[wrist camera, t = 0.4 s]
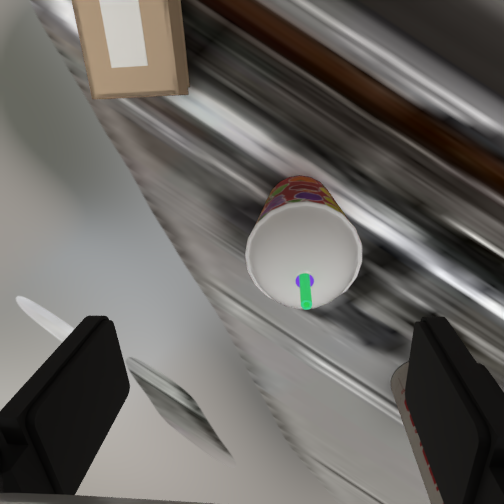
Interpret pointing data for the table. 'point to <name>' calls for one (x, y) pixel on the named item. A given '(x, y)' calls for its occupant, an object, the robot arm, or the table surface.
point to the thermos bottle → (414, 434)
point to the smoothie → (303, 246)
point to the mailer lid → (132, 47)
